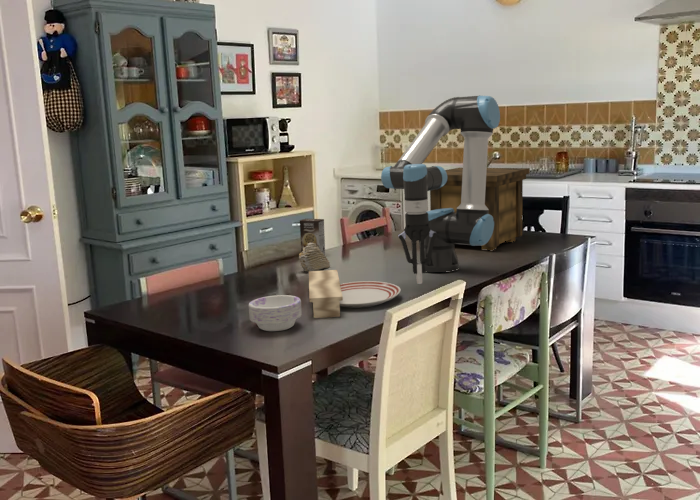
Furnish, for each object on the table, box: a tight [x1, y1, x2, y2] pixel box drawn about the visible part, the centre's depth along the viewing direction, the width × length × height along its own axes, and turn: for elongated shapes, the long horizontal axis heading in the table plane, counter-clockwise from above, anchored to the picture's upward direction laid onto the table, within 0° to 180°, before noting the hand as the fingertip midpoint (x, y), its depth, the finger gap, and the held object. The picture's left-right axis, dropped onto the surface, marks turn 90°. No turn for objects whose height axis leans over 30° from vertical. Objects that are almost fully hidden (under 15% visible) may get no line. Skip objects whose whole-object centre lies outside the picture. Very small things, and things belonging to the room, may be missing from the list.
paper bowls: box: [248, 294, 303, 332], centre depth 202 cm, size 15×15×8 cm
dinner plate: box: [339, 280, 401, 308], centre depth 228 cm, size 27×27×3 cm
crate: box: [429, 167, 531, 250], centre depth 310 cm, size 35×35×33 cm
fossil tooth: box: [298, 243, 331, 273], centre depth 274 cm, size 12×6×15 cm
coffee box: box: [299, 218, 326, 256], centre depth 301 cm, size 9×6×16 cm
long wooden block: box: [308, 269, 343, 319], centre depth 227 cm, size 10×37×6 cm, turn 4°
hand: (419, 282), depth 229 cm, fingers closed
